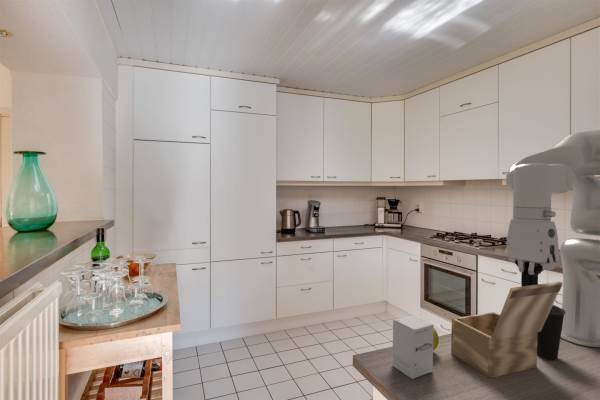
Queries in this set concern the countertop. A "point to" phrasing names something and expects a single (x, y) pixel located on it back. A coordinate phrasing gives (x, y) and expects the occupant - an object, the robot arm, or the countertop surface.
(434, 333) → the lemon
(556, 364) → the countertop surface
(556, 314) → the drinking cup
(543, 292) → the lid flap
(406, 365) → the supplement box
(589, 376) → the countertop surface
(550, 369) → the countertop surface
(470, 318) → the light brown boxy piece
